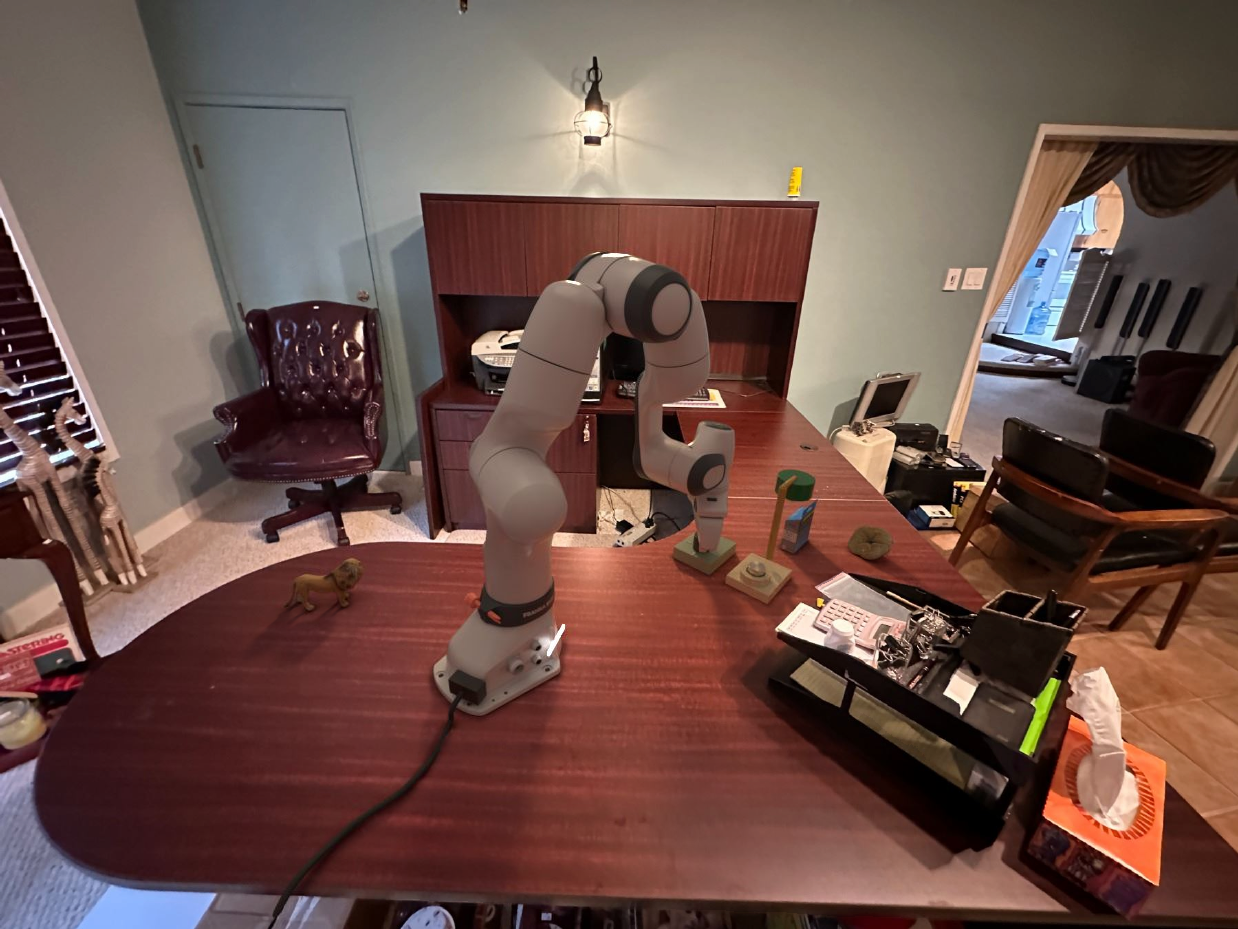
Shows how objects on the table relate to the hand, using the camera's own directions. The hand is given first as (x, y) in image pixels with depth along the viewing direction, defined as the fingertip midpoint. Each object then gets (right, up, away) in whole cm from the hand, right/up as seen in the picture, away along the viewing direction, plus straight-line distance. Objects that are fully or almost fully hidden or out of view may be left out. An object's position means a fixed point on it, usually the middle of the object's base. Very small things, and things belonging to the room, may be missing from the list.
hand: (701, 544), depth 115 cm
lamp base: (+12, -7, -5) cm, 15 cm away
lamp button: (+10, -5, -8) cm, 14 cm away
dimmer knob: (0, -1, 0) cm, 1 cm away
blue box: (+25, -2, +9) cm, 27 cm away
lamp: (+18, -1, 0) cm, 18 cm away
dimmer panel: (+1, -3, +3) cm, 5 cm away
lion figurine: (-76, -9, -17) cm, 79 cm away
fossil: (+42, -4, +7) cm, 43 cm away
